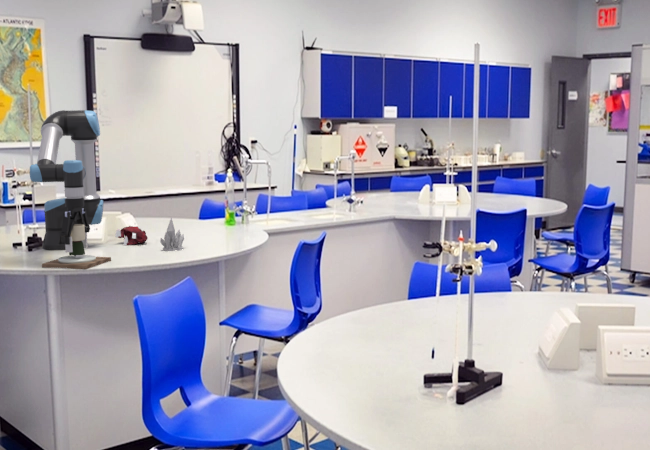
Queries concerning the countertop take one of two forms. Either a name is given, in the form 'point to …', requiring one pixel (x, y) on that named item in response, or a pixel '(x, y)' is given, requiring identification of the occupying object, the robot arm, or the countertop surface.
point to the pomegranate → (131, 235)
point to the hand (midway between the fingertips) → (76, 249)
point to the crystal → (172, 239)
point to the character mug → (78, 239)
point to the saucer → (77, 259)
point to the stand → (76, 266)
